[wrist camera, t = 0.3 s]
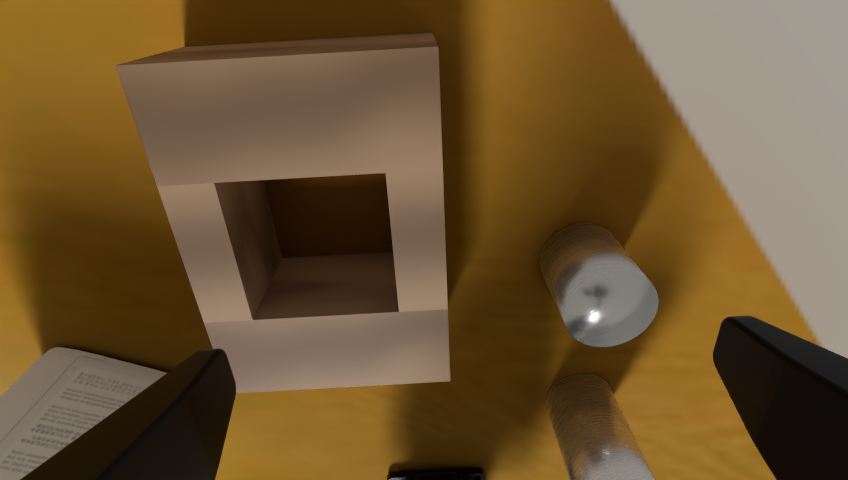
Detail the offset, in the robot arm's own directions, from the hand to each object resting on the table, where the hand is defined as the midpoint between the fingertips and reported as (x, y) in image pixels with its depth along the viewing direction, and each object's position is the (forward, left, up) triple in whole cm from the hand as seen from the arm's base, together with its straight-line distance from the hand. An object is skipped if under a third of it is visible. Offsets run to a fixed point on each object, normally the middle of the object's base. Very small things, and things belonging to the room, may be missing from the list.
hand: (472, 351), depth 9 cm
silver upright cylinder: (-17, -8, -14) cm, 23 cm away
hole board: (-3, +5, -14) cm, 15 cm away
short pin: (-7, -7, -14) cm, 17 cm away
